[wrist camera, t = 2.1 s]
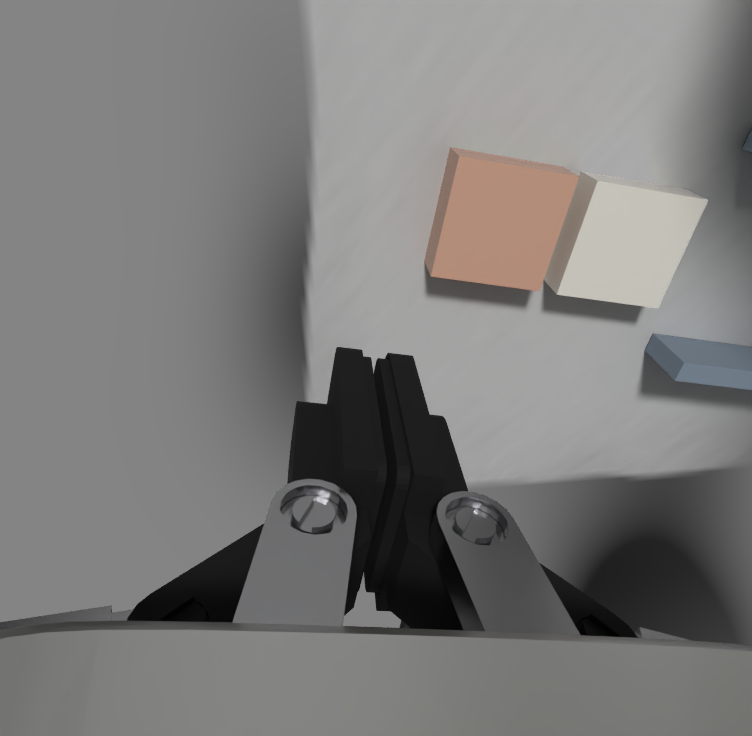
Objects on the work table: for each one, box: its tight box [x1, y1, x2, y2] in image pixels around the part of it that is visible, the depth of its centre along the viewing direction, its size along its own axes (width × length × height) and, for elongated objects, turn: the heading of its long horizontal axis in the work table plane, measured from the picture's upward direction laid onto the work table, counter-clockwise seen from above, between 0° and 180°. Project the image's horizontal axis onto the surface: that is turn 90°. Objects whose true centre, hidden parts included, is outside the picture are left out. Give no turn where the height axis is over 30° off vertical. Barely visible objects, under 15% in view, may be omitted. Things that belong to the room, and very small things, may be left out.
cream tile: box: [544, 171, 708, 308], centre depth 30 cm, size 6×6×2 cm
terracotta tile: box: [424, 147, 579, 291], centre depth 29 cm, size 6×6×2 cm
